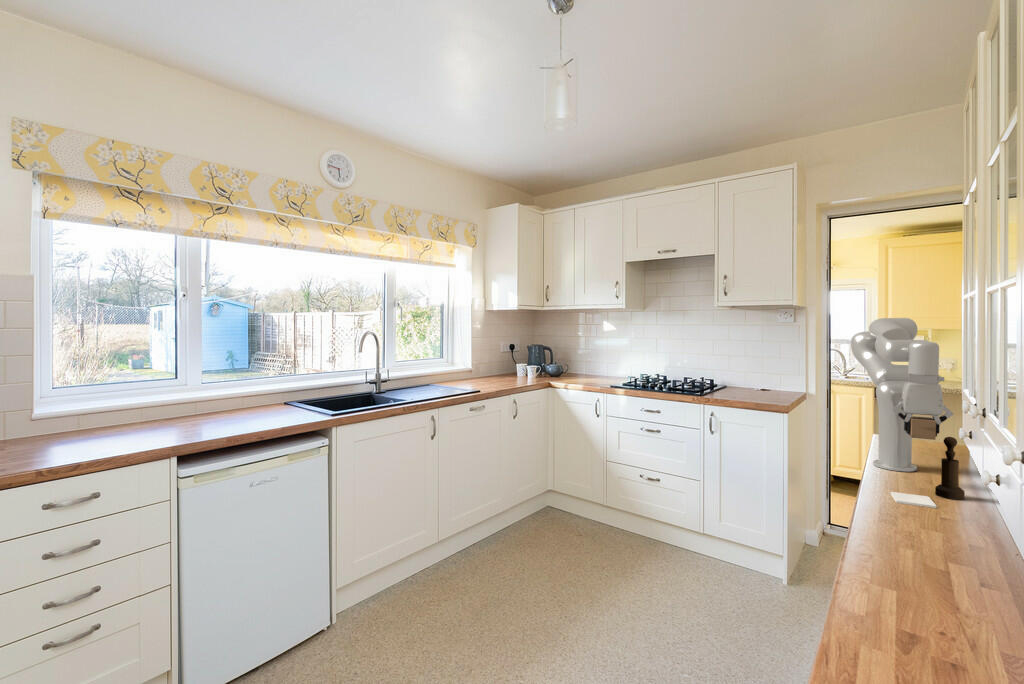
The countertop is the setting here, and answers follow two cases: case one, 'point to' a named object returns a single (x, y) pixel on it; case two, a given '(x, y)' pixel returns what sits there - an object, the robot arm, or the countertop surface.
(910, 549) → the countertop surface
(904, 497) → the tile pad
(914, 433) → the walnut cube
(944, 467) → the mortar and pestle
